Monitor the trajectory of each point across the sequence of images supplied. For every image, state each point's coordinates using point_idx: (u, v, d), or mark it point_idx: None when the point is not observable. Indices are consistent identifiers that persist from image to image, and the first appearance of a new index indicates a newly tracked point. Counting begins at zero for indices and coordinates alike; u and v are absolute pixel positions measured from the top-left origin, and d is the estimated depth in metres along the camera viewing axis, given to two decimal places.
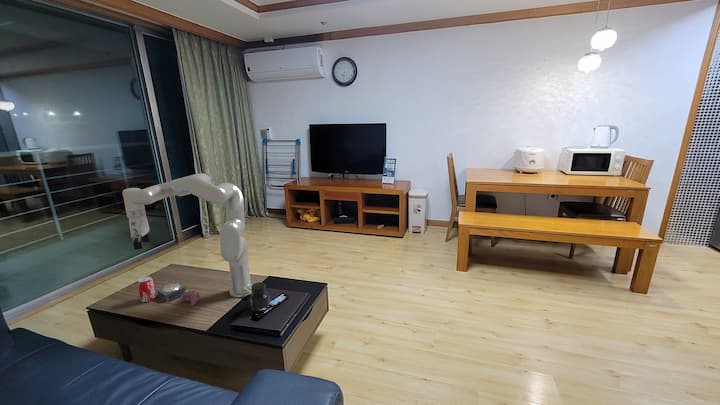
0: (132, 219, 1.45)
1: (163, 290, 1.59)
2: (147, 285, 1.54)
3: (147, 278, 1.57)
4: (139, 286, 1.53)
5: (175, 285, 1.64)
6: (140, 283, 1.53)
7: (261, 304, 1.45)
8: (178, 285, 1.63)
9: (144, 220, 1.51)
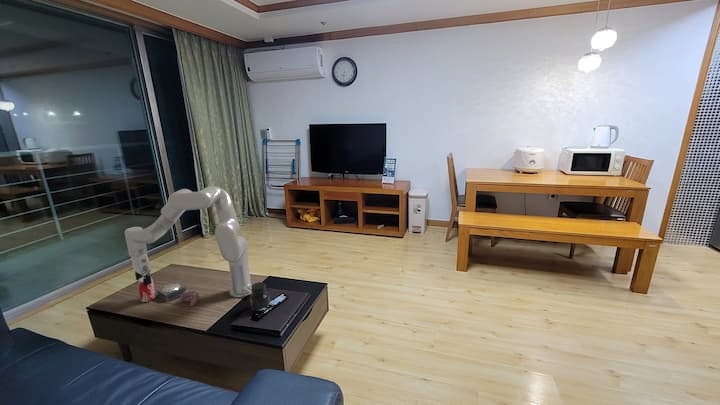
0: (141, 257, 1.50)
1: (163, 290, 1.59)
2: (147, 285, 1.54)
3: None
4: (139, 286, 1.53)
5: (175, 285, 1.64)
6: (140, 283, 1.53)
7: (261, 304, 1.45)
8: (178, 285, 1.63)
9: None
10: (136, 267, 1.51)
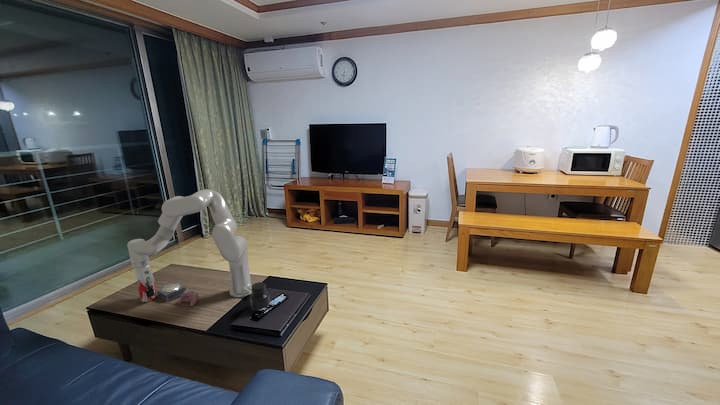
0: (144, 268, 1.51)
1: (163, 290, 1.59)
2: None
3: None
4: (139, 286, 1.53)
5: (175, 285, 1.64)
6: (140, 283, 1.53)
7: (261, 304, 1.45)
8: (178, 285, 1.63)
9: None
10: (139, 279, 1.53)
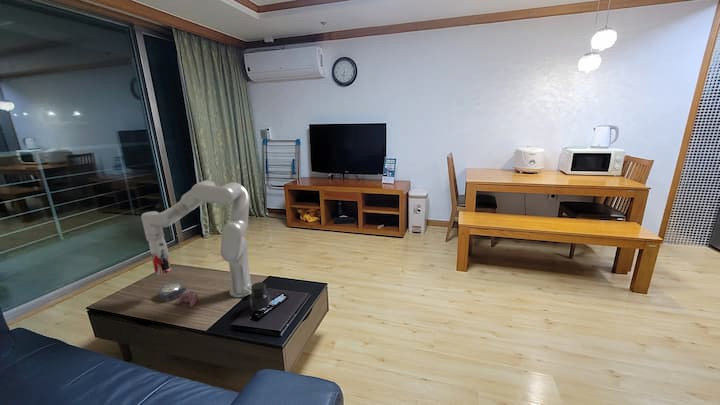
0: (159, 240, 1.51)
1: (163, 290, 1.59)
2: (162, 258, 1.54)
3: None
4: (154, 259, 1.53)
5: (175, 285, 1.64)
6: (155, 256, 1.53)
7: (261, 304, 1.45)
8: (178, 285, 1.63)
9: None
10: (154, 251, 1.52)
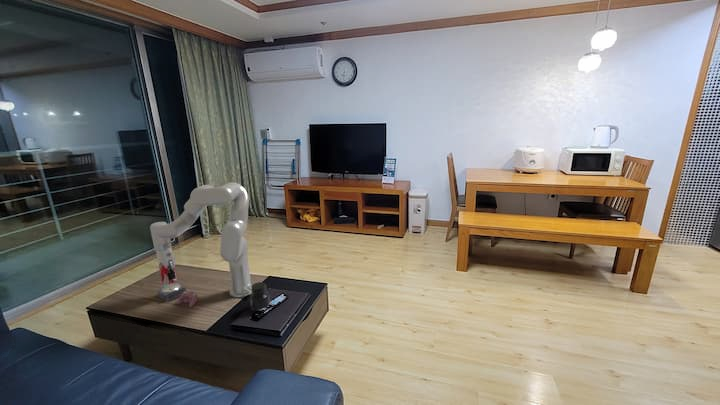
0: (166, 251, 1.53)
1: (163, 290, 1.59)
2: (169, 268, 1.56)
3: None
4: (161, 268, 1.55)
5: (175, 285, 1.64)
6: (162, 265, 1.55)
7: (261, 304, 1.45)
8: (178, 285, 1.63)
9: None
10: (161, 261, 1.55)
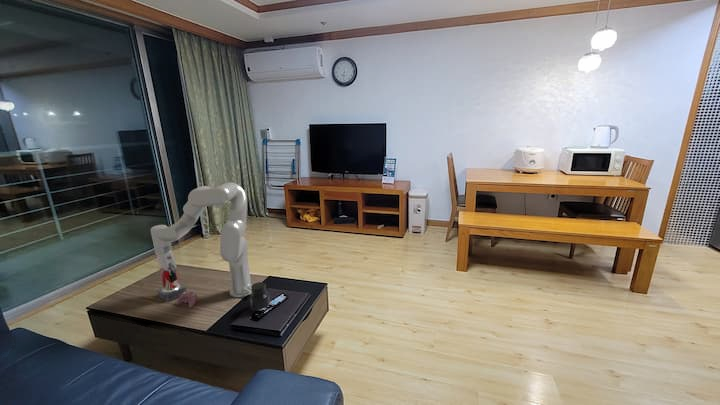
0: (167, 254, 1.54)
1: (163, 290, 1.59)
2: None
3: None
4: (162, 274, 1.56)
5: None
6: (163, 271, 1.56)
7: (261, 304, 1.45)
8: (178, 285, 1.63)
9: None
10: (162, 264, 1.55)
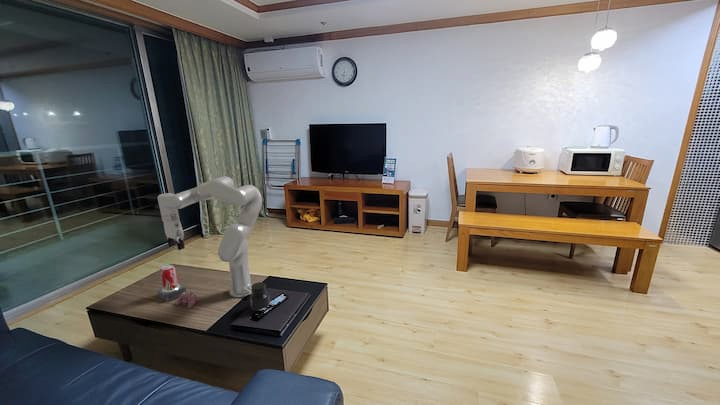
0: (175, 221, 1.55)
1: (163, 290, 1.59)
2: (170, 273, 1.57)
3: (169, 266, 1.60)
4: (162, 274, 1.56)
5: None
6: (163, 271, 1.56)
7: (261, 304, 1.45)
8: (178, 285, 1.63)
9: None
10: (169, 232, 1.56)
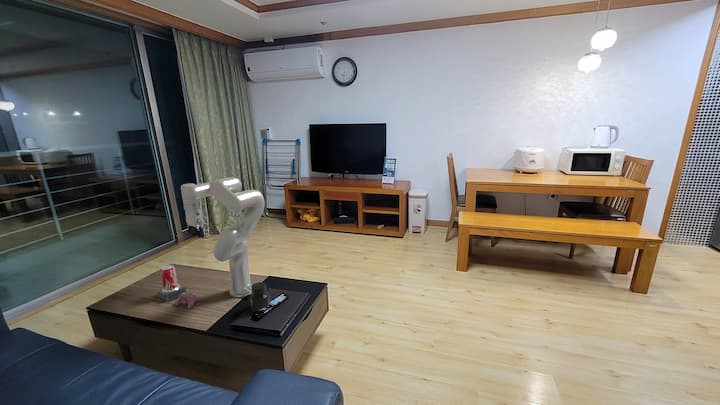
0: (196, 210, 1.64)
1: (163, 290, 1.59)
2: (170, 273, 1.57)
3: (170, 266, 1.60)
4: (162, 274, 1.56)
5: None
6: (163, 271, 1.56)
7: (261, 304, 1.45)
8: (178, 285, 1.63)
9: None
10: (191, 220, 1.65)
